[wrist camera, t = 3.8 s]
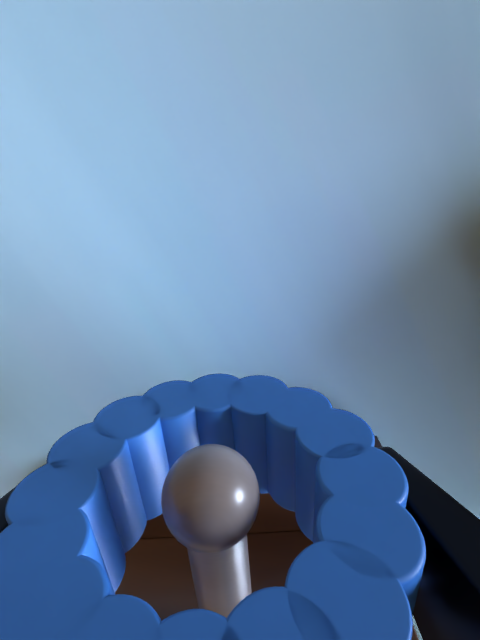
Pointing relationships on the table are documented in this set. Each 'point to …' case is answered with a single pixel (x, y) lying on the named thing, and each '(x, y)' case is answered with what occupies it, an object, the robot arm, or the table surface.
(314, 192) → the table surface
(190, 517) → the hook
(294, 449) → the tape roll
